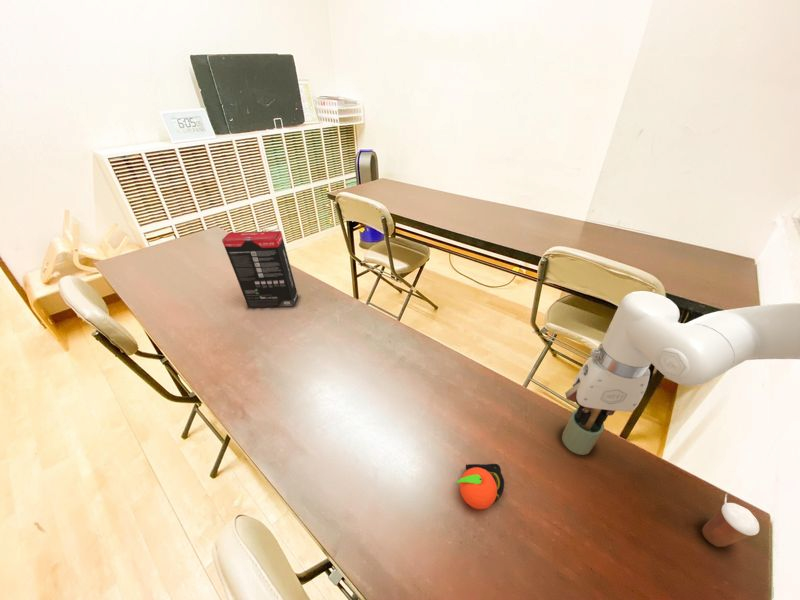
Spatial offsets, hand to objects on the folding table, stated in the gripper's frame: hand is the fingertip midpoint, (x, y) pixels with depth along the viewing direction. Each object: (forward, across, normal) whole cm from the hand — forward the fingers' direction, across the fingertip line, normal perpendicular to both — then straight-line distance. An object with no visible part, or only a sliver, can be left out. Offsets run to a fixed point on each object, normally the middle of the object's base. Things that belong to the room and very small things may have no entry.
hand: (588, 419), depth 66 cm
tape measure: (+9, -21, -12) cm, 26 cm away
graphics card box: (+9, -93, +40) cm, 102 cm away
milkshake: (+9, +19, -15) cm, 25 cm away
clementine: (+9, -23, -15) cm, 28 cm away
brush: (+7, 0, 0) cm, 7 cm away
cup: (+9, 0, 0) cm, 9 cm away
